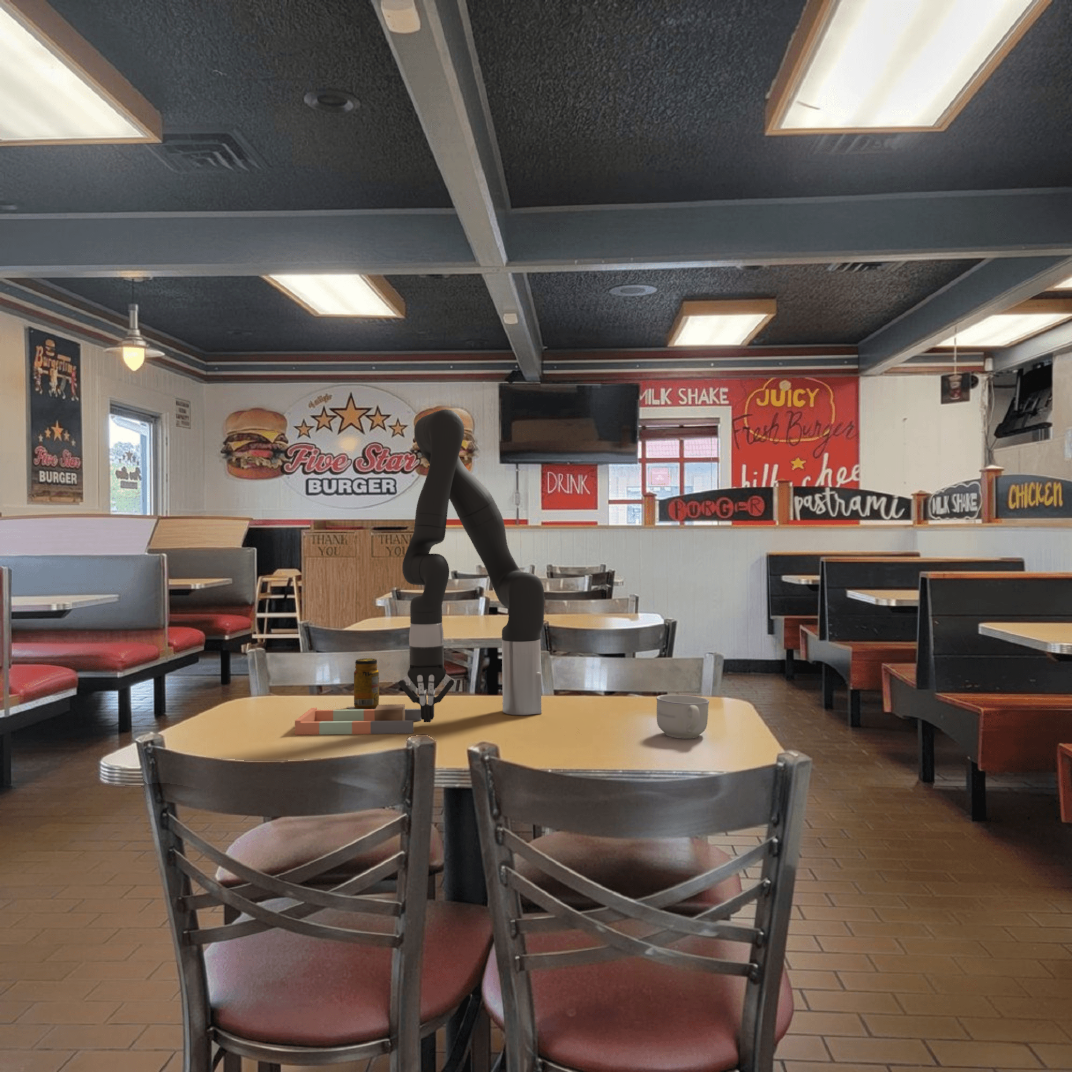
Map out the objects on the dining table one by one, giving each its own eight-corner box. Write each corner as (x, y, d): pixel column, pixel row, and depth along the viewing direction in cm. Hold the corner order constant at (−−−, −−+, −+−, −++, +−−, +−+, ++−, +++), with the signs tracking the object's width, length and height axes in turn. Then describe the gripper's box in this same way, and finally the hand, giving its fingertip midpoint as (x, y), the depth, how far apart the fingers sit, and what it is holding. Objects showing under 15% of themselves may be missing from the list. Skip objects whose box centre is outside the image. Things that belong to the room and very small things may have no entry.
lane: (421, 719, 196) (421, 706, 196) (412, 733, 183) (412, 719, 182) (311, 720, 196) (311, 707, 196) (295, 734, 183) (294, 720, 183)
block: (405, 723, 192) (404, 704, 192) (402, 730, 186) (402, 709, 186) (378, 724, 192) (378, 704, 192) (374, 730, 186) (374, 710, 186)
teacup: (654, 729, 183) (653, 692, 183) (704, 729, 183) (704, 692, 183) (661, 746, 169) (661, 705, 169) (716, 746, 169) (716, 705, 169)
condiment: (372, 704, 215) (372, 656, 215) (389, 709, 208) (388, 660, 208) (346, 708, 210) (345, 659, 210) (362, 713, 204) (361, 663, 204)
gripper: (458, 641, 193) (458, 717, 193) (399, 641, 193) (400, 718, 193) (454, 645, 185) (455, 725, 185) (393, 646, 185) (394, 725, 185)
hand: (427, 721), depth 189 cm, fingers closed
